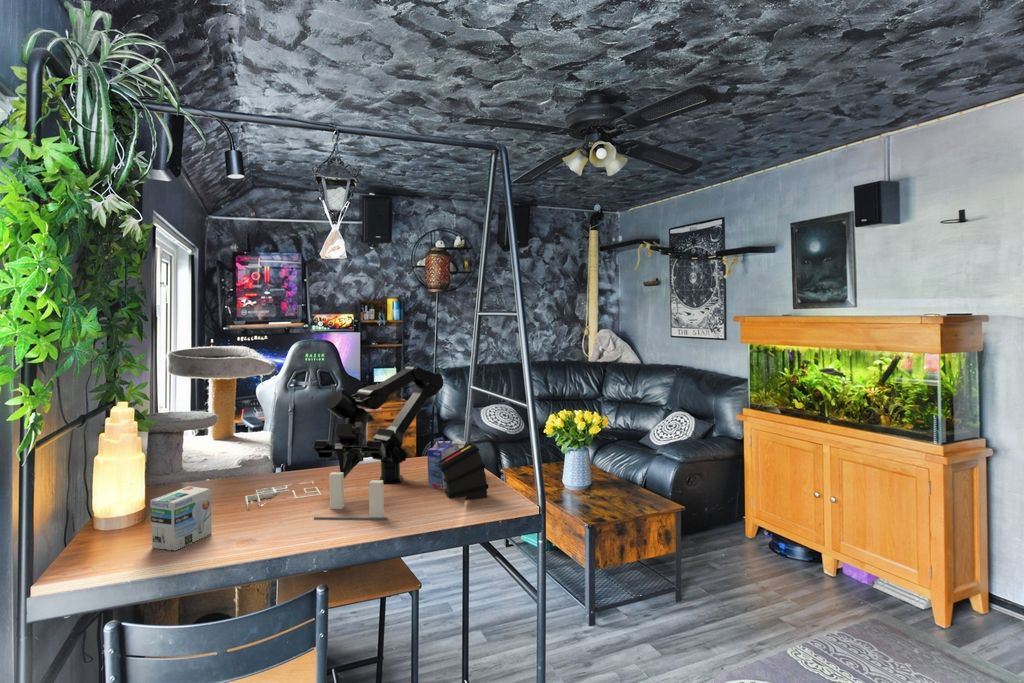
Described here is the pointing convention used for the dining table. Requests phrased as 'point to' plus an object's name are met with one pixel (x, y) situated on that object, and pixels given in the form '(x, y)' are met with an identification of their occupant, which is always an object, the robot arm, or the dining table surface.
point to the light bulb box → (181, 518)
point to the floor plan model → (274, 493)
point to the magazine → (464, 473)
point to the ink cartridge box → (434, 457)
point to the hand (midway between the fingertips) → (342, 477)
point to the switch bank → (350, 518)
